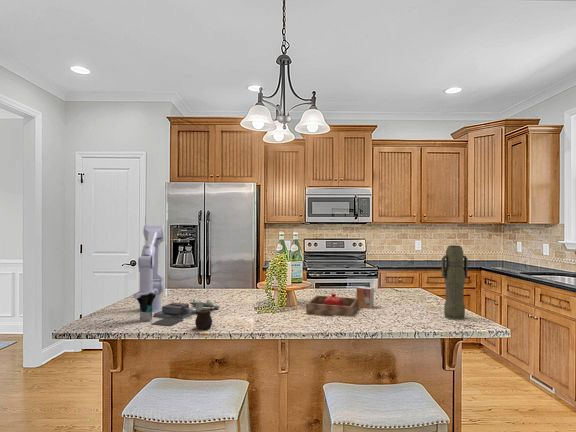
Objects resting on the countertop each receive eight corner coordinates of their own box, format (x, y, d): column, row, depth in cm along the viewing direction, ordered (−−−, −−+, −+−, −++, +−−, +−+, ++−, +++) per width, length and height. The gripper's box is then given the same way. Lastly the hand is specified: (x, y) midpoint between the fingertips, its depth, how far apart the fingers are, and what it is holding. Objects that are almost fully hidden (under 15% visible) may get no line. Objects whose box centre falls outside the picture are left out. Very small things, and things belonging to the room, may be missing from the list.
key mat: (151, 324, 170) (151, 323, 170) (165, 319, 179) (165, 318, 179) (170, 326, 166) (170, 325, 166) (183, 321, 176) (183, 319, 176)
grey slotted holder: (162, 312, 184) (162, 306, 184) (173, 308, 192) (173, 302, 192) (190, 315, 179) (190, 309, 179) (201, 311, 187) (201, 305, 187)
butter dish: (328, 306, 208) (328, 290, 208) (347, 309, 202) (347, 292, 202) (318, 310, 198) (318, 294, 198) (338, 313, 192) (338, 296, 192)
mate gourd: (197, 326, 167) (197, 303, 167) (214, 326, 167) (214, 303, 167) (193, 331, 160) (193, 307, 160) (210, 331, 160) (211, 307, 160)
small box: (356, 307, 205) (356, 287, 205) (359, 305, 210) (359, 286, 210) (370, 309, 201) (370, 289, 201) (373, 306, 206) (373, 287, 206)
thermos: (437, 317, 183) (437, 245, 184) (460, 316, 185) (460, 245, 186) (448, 322, 175) (448, 246, 175) (471, 321, 177) (471, 246, 177)
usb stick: (138, 320, 176) (138, 305, 176) (142, 319, 179) (142, 304, 179) (149, 321, 174) (149, 306, 174) (153, 320, 177) (153, 305, 177)
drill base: (154, 316, 183) (154, 313, 183) (169, 310, 195) (169, 307, 195) (182, 319, 178) (182, 316, 178) (196, 313, 190) (196, 310, 190)
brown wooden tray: (306, 313, 190) (306, 303, 190) (316, 304, 211) (316, 295, 211) (351, 317, 183) (352, 307, 183) (358, 307, 203) (358, 298, 203)
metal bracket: (214, 299, 189) (185, 298, 190) (213, 310, 187) (183, 310, 188) (221, 304, 202) (193, 303, 203) (220, 315, 200) (192, 314, 201)
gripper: (142, 284, 168) (142, 315, 168) (163, 279, 182) (163, 308, 182) (129, 283, 171) (129, 314, 171) (151, 278, 184) (150, 306, 184)
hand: (145, 310), depth 177 cm, fingers closed on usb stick, 2 cm apart
